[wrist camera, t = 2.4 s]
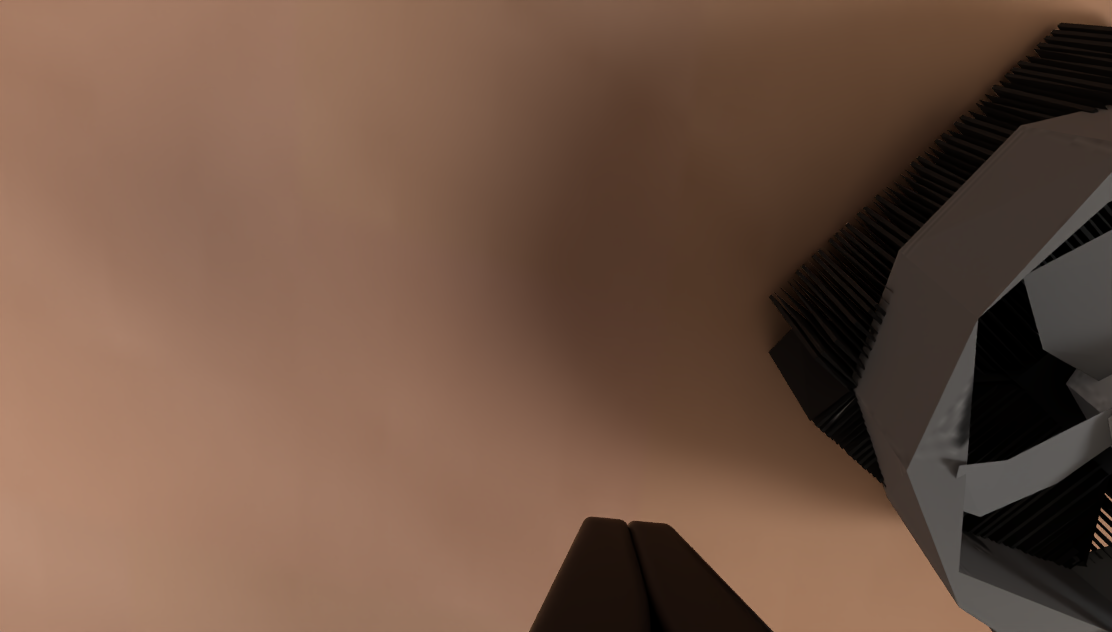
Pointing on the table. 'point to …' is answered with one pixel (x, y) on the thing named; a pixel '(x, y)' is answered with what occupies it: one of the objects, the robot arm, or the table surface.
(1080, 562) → the cpu cooler
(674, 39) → the table surface
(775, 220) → the table surface
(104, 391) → the table surface
